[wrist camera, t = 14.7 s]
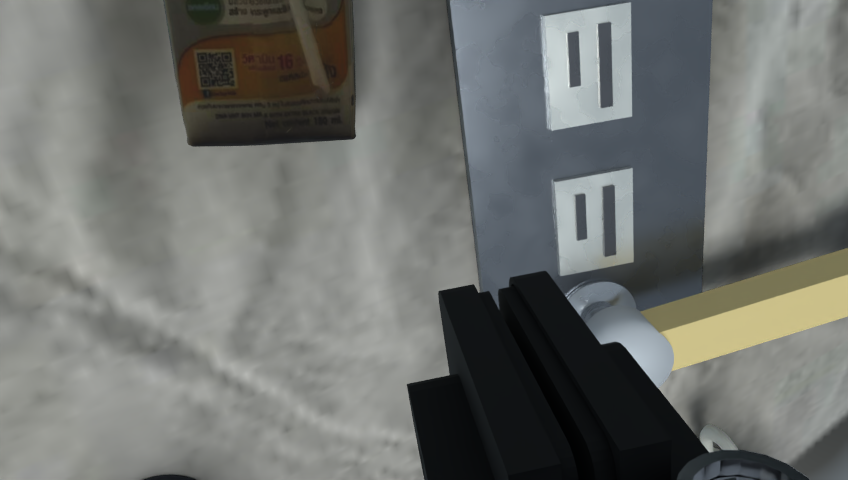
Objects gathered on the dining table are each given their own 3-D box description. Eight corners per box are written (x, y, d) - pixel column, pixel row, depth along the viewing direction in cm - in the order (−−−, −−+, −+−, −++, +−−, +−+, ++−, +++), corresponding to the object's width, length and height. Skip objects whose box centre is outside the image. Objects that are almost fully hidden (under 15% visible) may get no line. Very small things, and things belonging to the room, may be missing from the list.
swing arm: (891, 219, 39) (936, 239, 36) (888, 282, 41) (931, 306, 38) (572, 317, 38) (592, 345, 36) (583, 377, 40) (604, 408, 37)
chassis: (442, -34, 33) (455, -33, 30) (704, -74, 35) (744, -78, 31) (488, 362, 43) (502, 394, 40) (692, 320, 44) (721, 348, 41)
